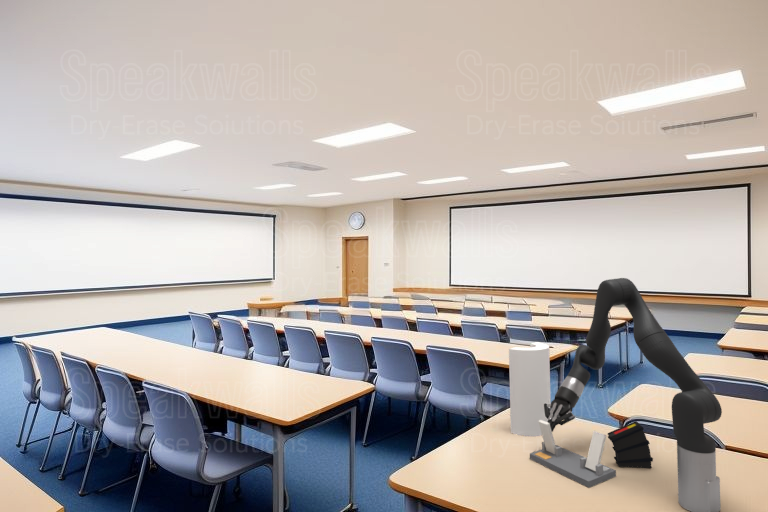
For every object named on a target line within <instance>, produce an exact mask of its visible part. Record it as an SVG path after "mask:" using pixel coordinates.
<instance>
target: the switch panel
mask: <svg viewBox="0 0 768 512" xmlns="http://www.w3.org/2000/svg"><path fill="white" fill-rule="evenodd" d="M555 445H556V448H555V454H553V453H551V452H549V451H546V448H545V444H544V441H541V449H539V450H536V451H533V452H530V453H529V460H531V461H533V462H535V463H538V464H540V465H541V466H544V467H545V468H547V469H550V470H551V471H553V472H556V473H557V474H560V475H562V476H564V477H566V478H569V479H570V480H572V481H574V482H576V483H578V484H580V485H582V486H584V487H587V488H588V489H590V488H592V487H595V486H597V485H599V484H601V483H603V482H606V481H609V480H610V479H614V478H615V477H617V470H616V469H615V468H612V467H609V466H606V465H604V464H602V463H600V464H598V465H596V471H594V470H592V469H589V468H587V467H585V465H586V460H587V457H585V456H584V455H581V454H579V453H576V452H574V451H572V450H569V449H567V448H564V447H562V446H561V445H559V444H555Z"/></svg>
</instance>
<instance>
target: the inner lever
mask: <svg viewBox="0 0 768 512" xmlns="http://www.w3.org/2000/svg"><path fill="white" fill-rule="evenodd" d="M606 439H607V434H604V433H600V432H598V431H596V430H593V431H592V435H591V440H590V443H589V449H588V453H587V457H586V458H587V460H586V465H585V467H587V468H589V469H592V470H594V471H596V465H598V464H601V460H602V456H603V451H604V447H605V443H606Z"/></svg>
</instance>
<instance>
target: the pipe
mask: <svg viewBox="0 0 768 512" xmlns="http://www.w3.org/2000/svg"><path fill="white" fill-rule="evenodd" d="M508 360H509V362H508V364H509V365H508V366H509V367H508V368H509V407H510V408H509V409H510V411H509V412H510V414H509V416H510V419H509V421H510V434H512V433H513V435H516V434H517V435H516V436H522V435H524V436H523V437H541V436H542V433H541V429H540V426H539V422H538V421H539V420H543V421H545V422H547V421H548V419H547V418H546V417H545V411H544V404H545V403H546V404H551V402H552V401H551V373H550V372H551V371H550V369H551V368H550V367H551V366H550V363H551V362H550V345H549V344H546V343H544V342H539V341H535V342H532V343H530V344H529V347H519V346H514V347H510V348H508Z"/></svg>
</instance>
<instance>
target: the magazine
mask: <svg viewBox="0 0 768 512" xmlns="http://www.w3.org/2000/svg"><path fill="white" fill-rule="evenodd" d="M644 430H645V429H644V427H643V426H642V425H641V424H640V423H639V421H636V420H635V421H633V422H631V423H628V424H626V425H623V426H621V427H619V428H617V429H614V430H612V431H610V432H607V438H608V439H609V441H610V442H611V444H612V445H613V446H612V450H613V451H614V455H615V456H613V459H614V461H615V464H616V465H617V467H619V468H634V469H635V468H637V469H638V468H639V469H652V462H654V458H653V457H652V456H651V450H650V449H651V448H650V441H649V440H648V438H647V437H646V433H645V431H644Z"/></svg>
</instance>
